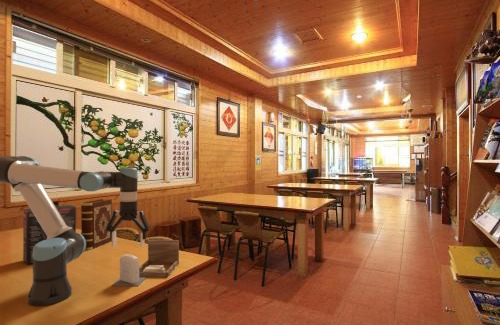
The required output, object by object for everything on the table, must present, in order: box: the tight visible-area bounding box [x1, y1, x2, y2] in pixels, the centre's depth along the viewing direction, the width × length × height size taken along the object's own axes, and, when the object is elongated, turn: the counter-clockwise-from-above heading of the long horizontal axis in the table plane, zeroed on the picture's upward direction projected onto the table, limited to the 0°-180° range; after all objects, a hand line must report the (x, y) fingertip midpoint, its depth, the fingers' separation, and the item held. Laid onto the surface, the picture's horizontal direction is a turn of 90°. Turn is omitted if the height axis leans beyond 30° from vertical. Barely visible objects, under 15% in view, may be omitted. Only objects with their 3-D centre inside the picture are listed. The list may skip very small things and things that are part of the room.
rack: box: [139, 239, 180, 278], centre depth 153 cm, size 19×17×13 cm
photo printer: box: [119, 253, 140, 284], centre depth 138 cm, size 10×4×12 cm, turn 61°
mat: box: [111, 277, 147, 287], centre depth 138 cm, size 9×12×1 cm
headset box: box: [22, 200, 77, 265], centre depth 174 cm, size 25×12×33 cm, turn 136°
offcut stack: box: [142, 264, 167, 273], centre depth 148 cm, size 7×10×4 cm, turn 88°
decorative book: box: [79, 198, 113, 251], centre depth 200 cm, size 22×8×30 cm, turn 168°
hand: (128, 245), depth 138 cm, fingers open, 13 cm apart
